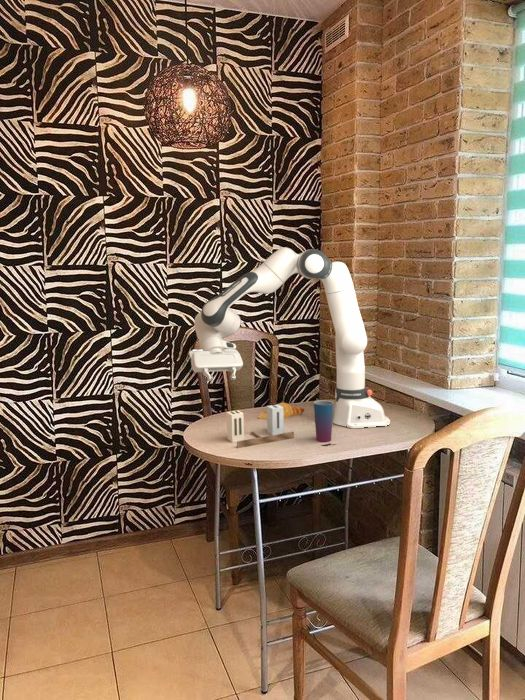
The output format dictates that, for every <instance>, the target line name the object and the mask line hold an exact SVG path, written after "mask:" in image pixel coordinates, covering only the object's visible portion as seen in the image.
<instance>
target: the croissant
mask: <svg viewBox="0 0 525 700" xmlns="http://www.w3.org/2000/svg"><path fill="white" fill-rule="evenodd" d="M276 405H280V406H282V407H283V417H284V419H286V418H292V417H294V416H295V417H296V416H298V415H299V416H301V415H302V414H303V413H304V412H305V408H304V407H300V406H294V405H292V404H289V403H288V402H285V401H284V402H280V403H277V404H276ZM260 419H261V420H267V410H265V411H263V412H262V413H261V414H258V415H257V420H260Z"/></svg>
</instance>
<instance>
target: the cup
mask: <svg viewBox="0 0 525 700" xmlns="http://www.w3.org/2000/svg"><path fill="white" fill-rule="evenodd" d="M313 411H314V423H315V424H314V425H315V427H314V428H315V440H316V442H319V443H325V444H322V445H321V444H320V445H319V446H321V447H328V445H329V446H330V444H331V445H332V443H330V442H331V441H332V432H333V417H334V401H331V400H327V399H318V400H316V401H314V402H313Z"/></svg>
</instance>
